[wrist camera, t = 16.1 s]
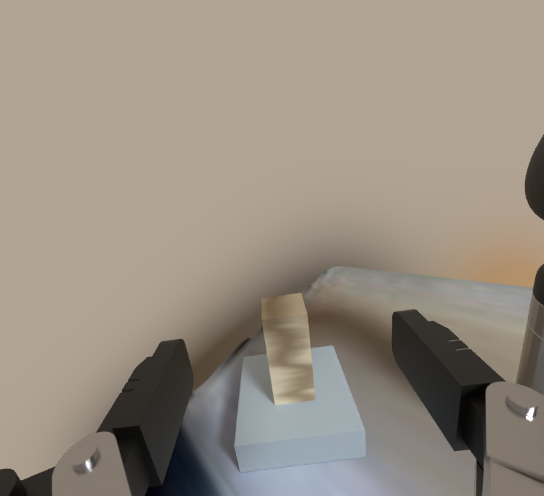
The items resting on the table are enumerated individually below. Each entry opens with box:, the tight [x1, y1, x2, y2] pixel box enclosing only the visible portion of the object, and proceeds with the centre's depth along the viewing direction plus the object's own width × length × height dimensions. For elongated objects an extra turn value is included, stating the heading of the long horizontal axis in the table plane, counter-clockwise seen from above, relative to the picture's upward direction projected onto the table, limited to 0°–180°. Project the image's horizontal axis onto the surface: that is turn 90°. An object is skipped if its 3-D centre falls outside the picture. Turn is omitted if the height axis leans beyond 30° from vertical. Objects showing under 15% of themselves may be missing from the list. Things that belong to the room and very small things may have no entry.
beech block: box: [262, 293, 316, 405], centre depth 34 cm, size 5×5×12 cm
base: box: [234, 346, 366, 473], centre depth 36 cm, size 14×14×4 cm
